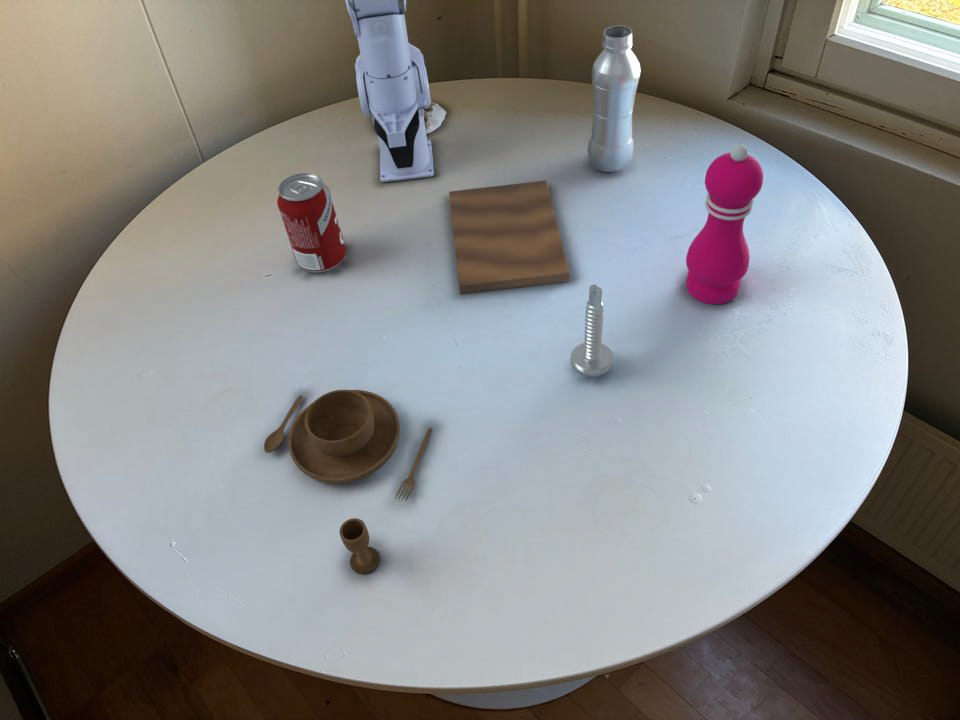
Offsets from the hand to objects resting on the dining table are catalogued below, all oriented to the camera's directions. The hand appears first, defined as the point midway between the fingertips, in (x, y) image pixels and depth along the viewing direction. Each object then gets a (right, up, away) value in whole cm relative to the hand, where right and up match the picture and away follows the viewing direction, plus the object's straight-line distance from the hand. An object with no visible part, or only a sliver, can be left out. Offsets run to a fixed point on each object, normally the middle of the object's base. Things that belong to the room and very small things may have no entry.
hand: (404, 165), depth 101 cm
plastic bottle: (+29, +3, +13) cm, 32 cm away
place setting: (-5, -38, -20) cm, 43 cm away
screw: (+23, -27, -13) cm, 38 cm away
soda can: (-11, -12, +3) cm, 17 cm away
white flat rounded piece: (-1, +14, +25) cm, 29 cm away
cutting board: (+13, -9, +3) cm, 17 cm away
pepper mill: (+38, -17, -6) cm, 42 cm away
